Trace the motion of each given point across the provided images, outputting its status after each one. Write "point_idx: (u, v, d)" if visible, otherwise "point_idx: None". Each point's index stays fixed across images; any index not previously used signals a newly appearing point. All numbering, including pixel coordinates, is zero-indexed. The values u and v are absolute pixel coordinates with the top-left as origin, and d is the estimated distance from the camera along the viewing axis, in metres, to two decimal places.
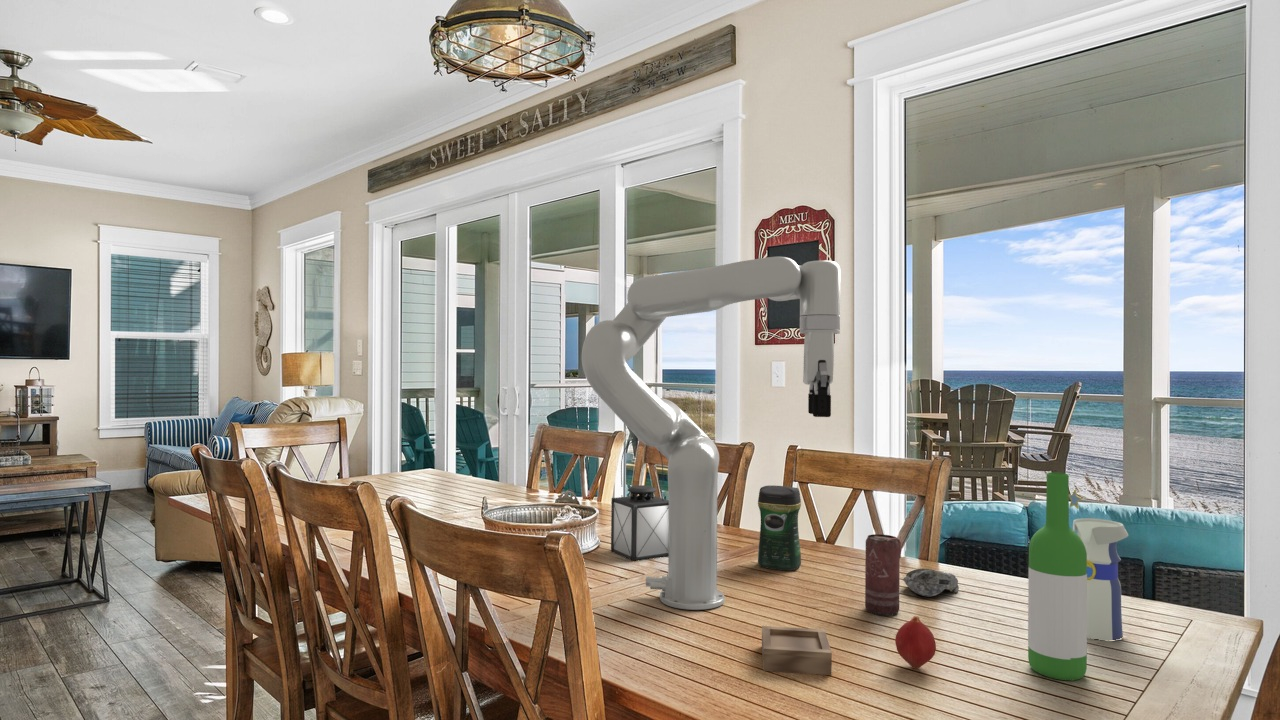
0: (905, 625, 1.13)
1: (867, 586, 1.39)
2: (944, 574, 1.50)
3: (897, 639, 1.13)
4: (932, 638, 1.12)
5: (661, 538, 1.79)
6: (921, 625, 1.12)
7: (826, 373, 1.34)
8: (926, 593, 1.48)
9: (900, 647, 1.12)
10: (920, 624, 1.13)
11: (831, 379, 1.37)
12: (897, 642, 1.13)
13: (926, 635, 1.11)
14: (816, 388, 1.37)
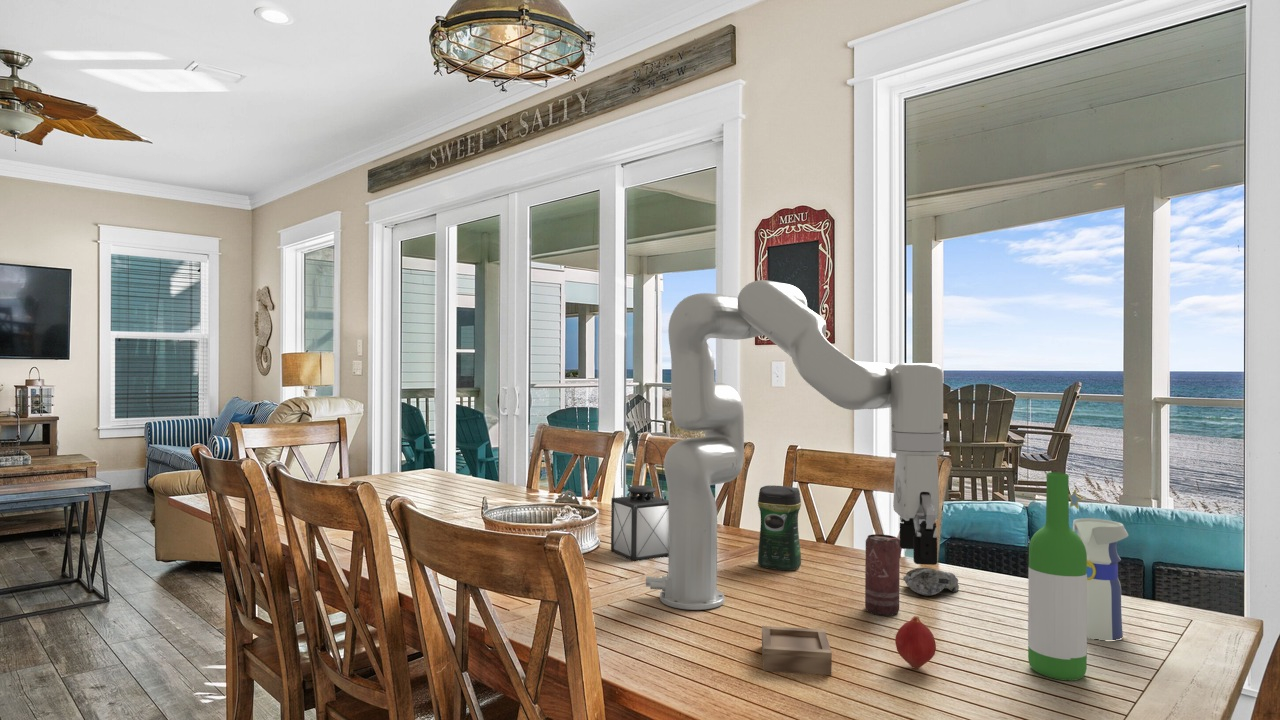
0: (905, 625, 1.13)
1: (867, 586, 1.39)
2: (944, 573, 1.50)
3: (897, 639, 1.13)
4: (932, 638, 1.12)
5: (661, 538, 1.79)
6: (921, 625, 1.12)
7: (934, 513, 1.05)
8: (925, 592, 1.48)
9: (900, 647, 1.12)
10: (920, 624, 1.13)
11: (937, 516, 1.09)
12: (897, 642, 1.13)
13: (926, 635, 1.11)
14: (918, 528, 1.08)
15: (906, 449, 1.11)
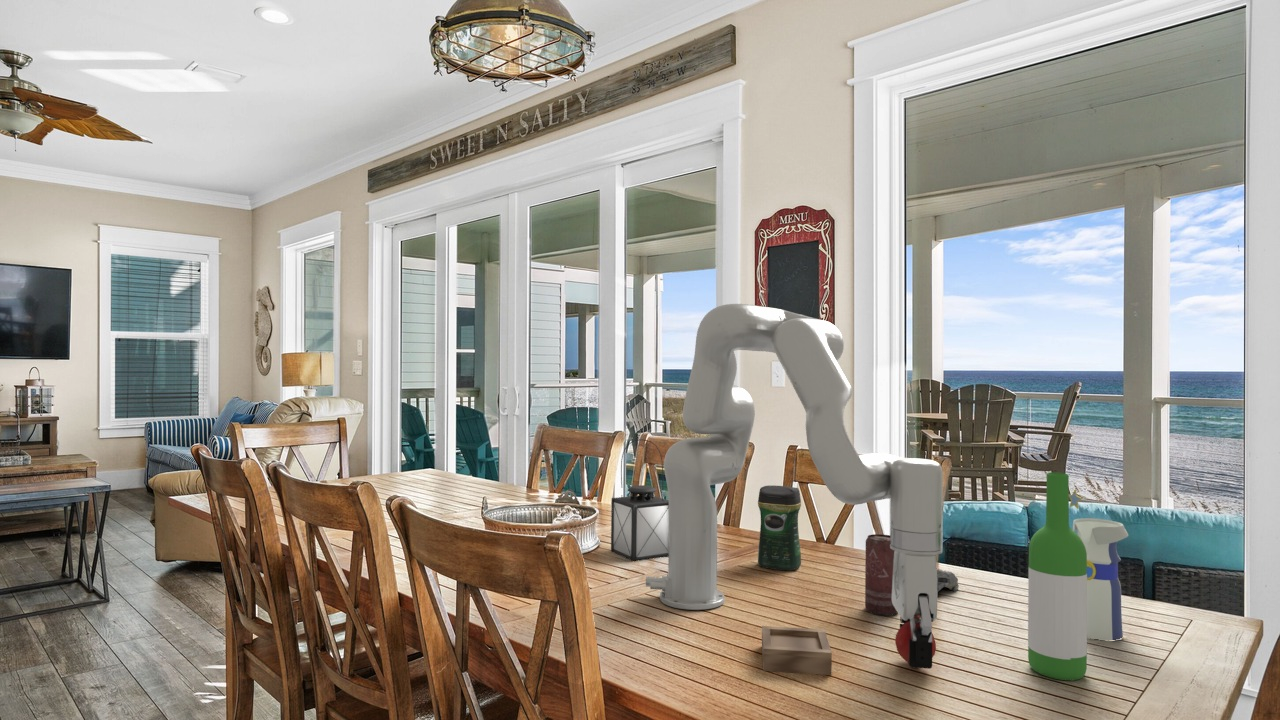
0: (905, 625, 1.13)
1: (867, 586, 1.39)
2: (943, 572, 1.51)
3: (897, 639, 1.13)
4: (932, 638, 1.12)
5: (661, 538, 1.79)
6: None
7: (930, 626, 1.06)
8: None
9: (900, 647, 1.12)
10: None
11: (935, 617, 1.08)
12: (897, 642, 1.13)
13: None
14: (914, 634, 1.09)
15: (905, 548, 1.11)
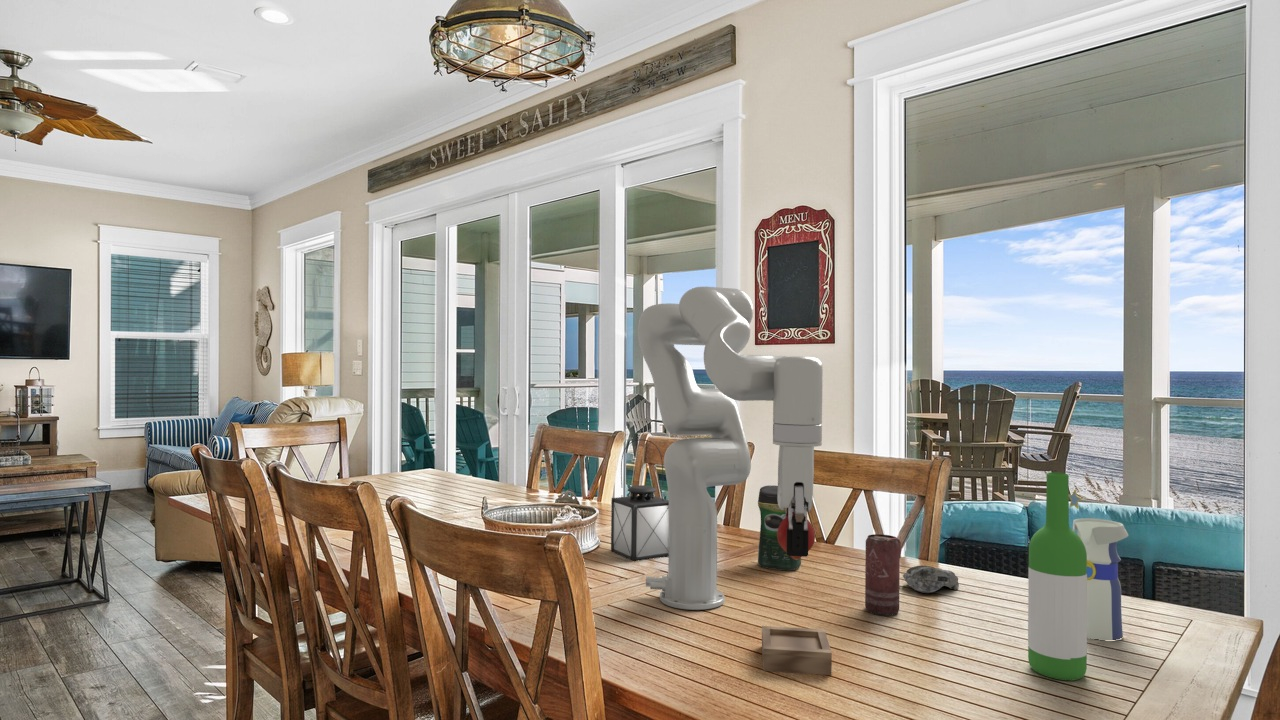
0: (786, 517, 1.16)
1: (867, 586, 1.39)
2: (943, 571, 1.52)
3: (778, 531, 1.16)
4: (811, 529, 1.15)
5: (661, 538, 1.79)
6: None
7: (802, 512, 1.09)
8: (924, 589, 1.50)
9: (780, 538, 1.15)
10: None
11: (810, 506, 1.11)
12: (778, 534, 1.16)
13: None
14: (790, 523, 1.12)
15: (784, 440, 1.14)
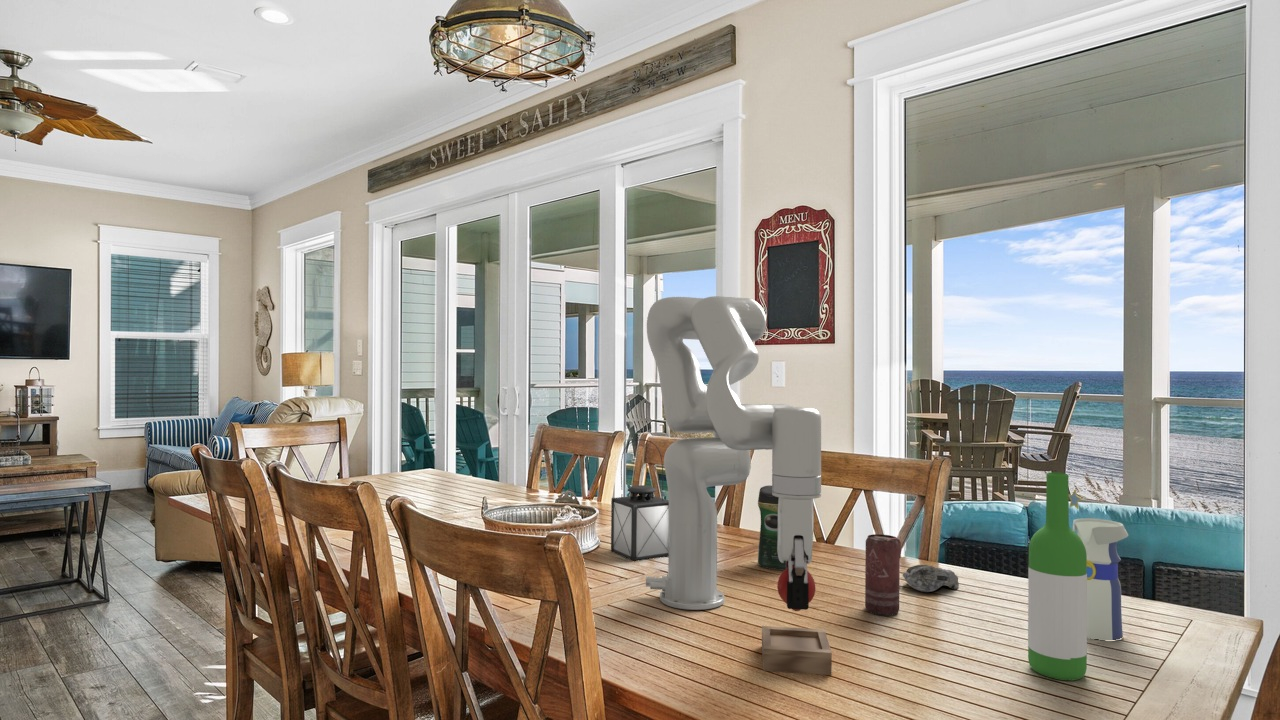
0: (786, 569, 1.16)
1: (867, 586, 1.39)
2: (942, 570, 1.52)
3: (778, 583, 1.16)
4: (811, 581, 1.14)
5: (661, 538, 1.79)
6: None
7: (802, 566, 1.08)
8: (923, 588, 1.51)
9: (780, 590, 1.15)
10: None
11: (810, 559, 1.11)
12: (778, 585, 1.16)
13: None
14: (790, 576, 1.12)
15: (783, 492, 1.14)
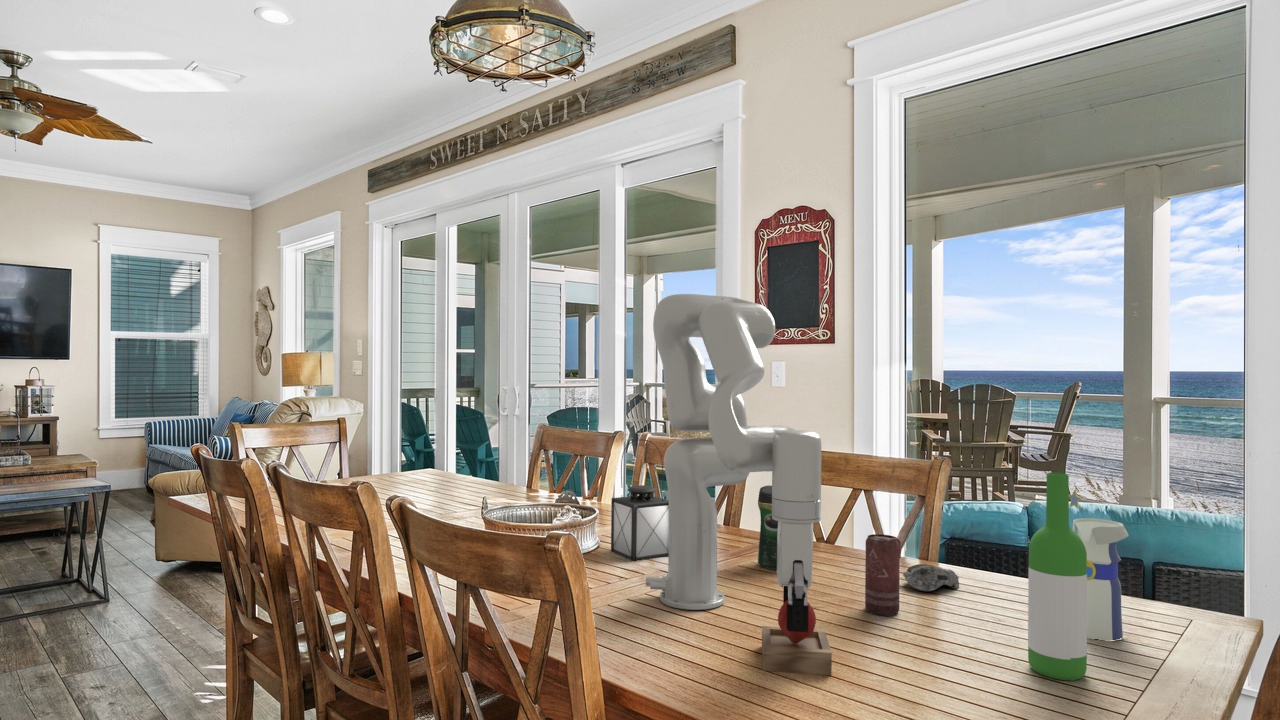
0: None
1: (867, 586, 1.39)
2: (942, 570, 1.53)
3: (779, 613, 1.16)
4: (812, 615, 1.14)
5: (661, 538, 1.79)
6: None
7: (802, 585, 1.08)
8: (923, 588, 1.51)
9: (780, 621, 1.15)
10: None
11: (809, 584, 1.11)
12: (779, 616, 1.16)
13: None
14: (790, 597, 1.11)
15: (783, 517, 1.13)
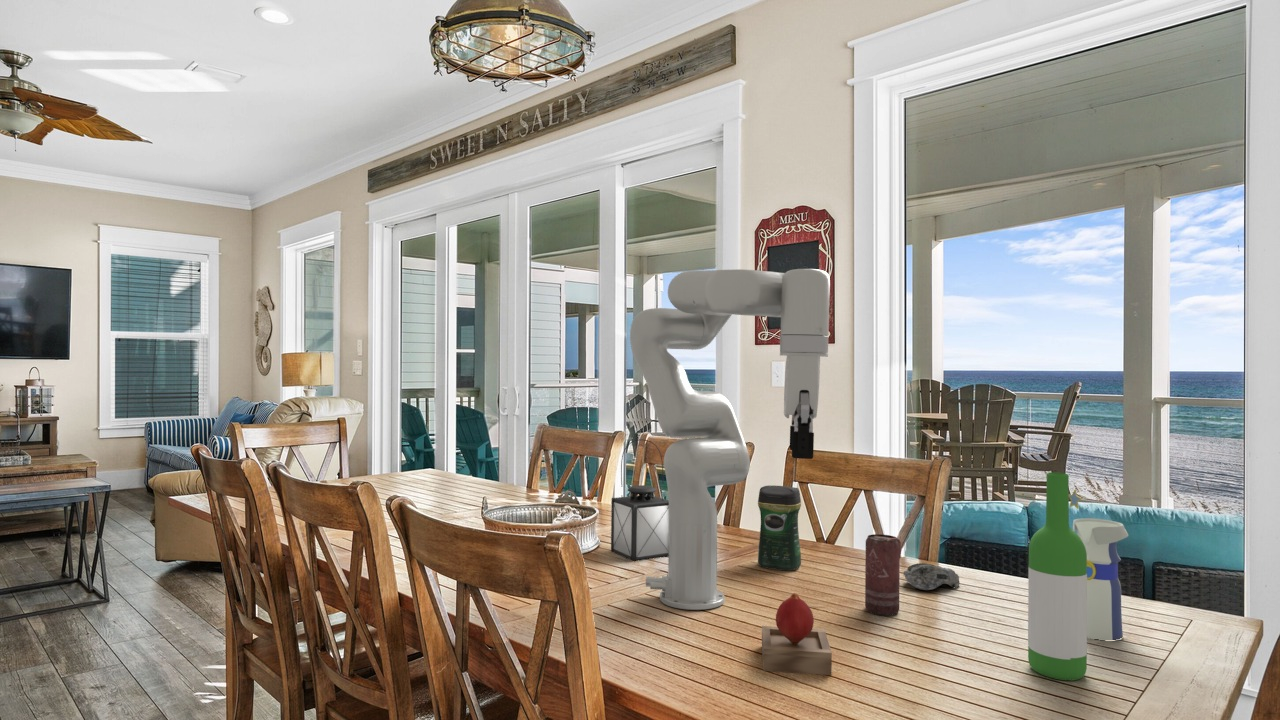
0: (784, 602, 1.16)
1: (867, 586, 1.39)
2: (942, 569, 1.54)
3: (776, 615, 1.16)
4: (809, 614, 1.14)
5: (661, 538, 1.79)
6: (799, 602, 1.15)
7: (808, 407, 1.10)
8: (922, 587, 1.52)
9: (778, 623, 1.15)
10: (798, 600, 1.15)
11: (815, 413, 1.14)
12: (776, 618, 1.16)
13: (802, 611, 1.14)
14: (796, 424, 1.13)
15: (790, 350, 1.16)
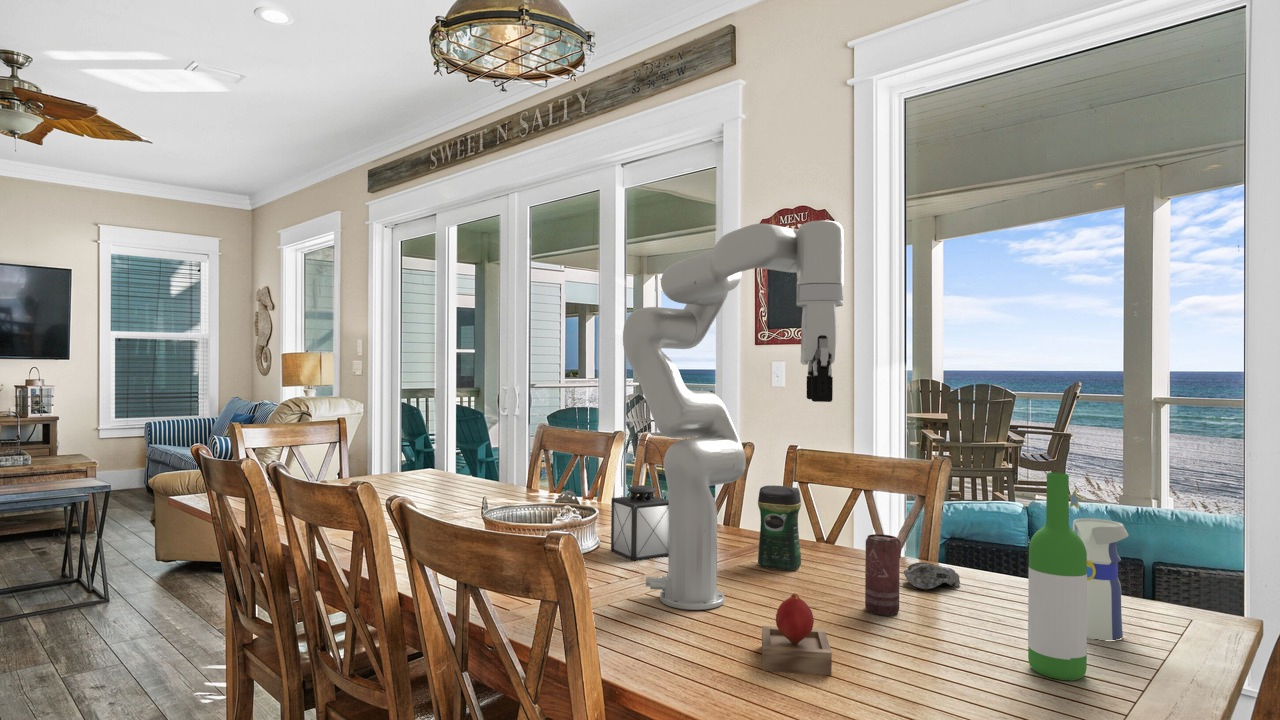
0: (784, 602, 1.16)
1: (867, 586, 1.39)
2: (942, 568, 1.54)
3: (776, 615, 1.16)
4: (809, 614, 1.14)
5: (661, 538, 1.79)
6: (799, 602, 1.15)
7: (827, 350, 1.14)
8: (922, 586, 1.53)
9: (778, 623, 1.15)
10: (798, 600, 1.15)
11: (833, 358, 1.18)
12: (776, 618, 1.16)
13: (803, 611, 1.14)
14: (815, 368, 1.17)
15: (807, 299, 1.20)
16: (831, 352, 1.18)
